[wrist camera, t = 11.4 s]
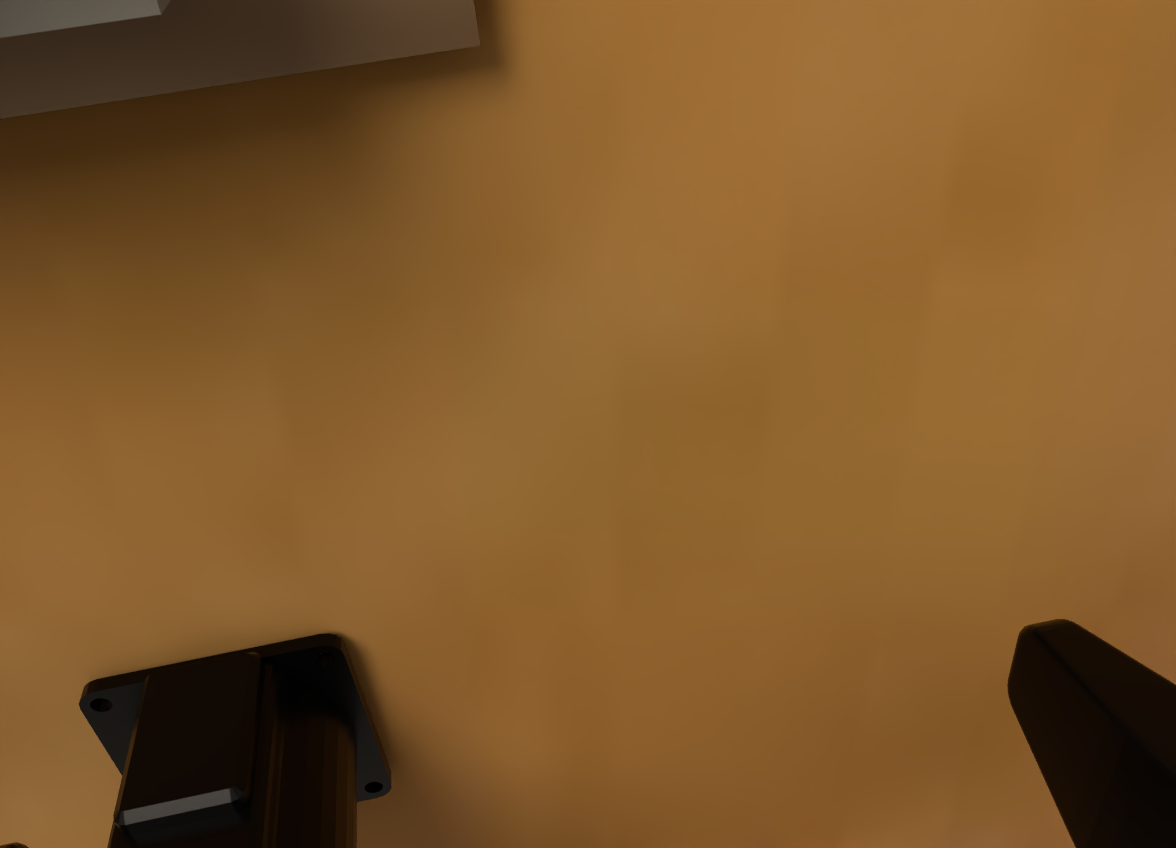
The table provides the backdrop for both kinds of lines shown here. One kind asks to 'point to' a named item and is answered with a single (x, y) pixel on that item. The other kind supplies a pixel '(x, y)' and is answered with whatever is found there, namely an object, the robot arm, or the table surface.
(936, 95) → the table surface
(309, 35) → the socket board
